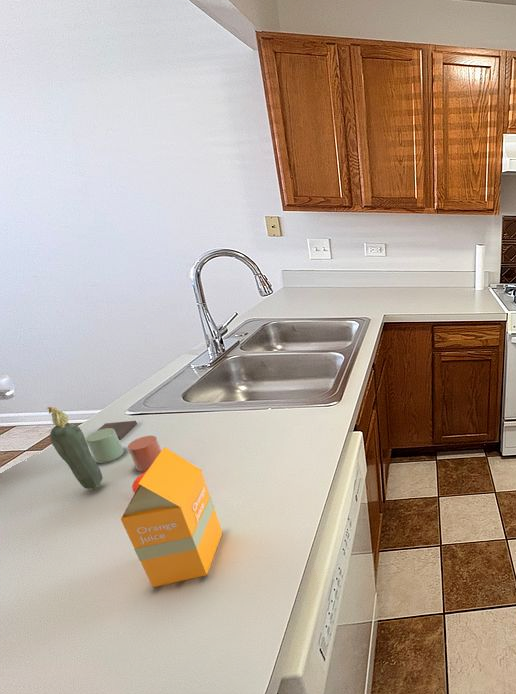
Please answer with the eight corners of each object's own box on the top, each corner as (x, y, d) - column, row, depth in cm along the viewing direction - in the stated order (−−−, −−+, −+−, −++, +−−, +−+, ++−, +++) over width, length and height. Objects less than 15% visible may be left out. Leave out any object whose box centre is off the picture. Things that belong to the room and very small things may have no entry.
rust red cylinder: (131, 473, 86) (122, 450, 84) (144, 458, 91) (136, 436, 88) (157, 470, 87) (148, 448, 85) (169, 455, 92) (161, 434, 89)
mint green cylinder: (89, 464, 89) (79, 442, 87) (104, 450, 93) (95, 429, 91) (115, 461, 90) (105, 439, 87) (128, 448, 94) (119, 426, 92)
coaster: (87, 443, 96) (85, 439, 96) (106, 426, 102) (105, 423, 102) (120, 439, 97) (118, 436, 97) (137, 423, 104) (135, 420, 103)
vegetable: (111, 488, 82) (72, 405, 74) (83, 501, 79) (40, 416, 71) (102, 480, 84) (64, 399, 76) (76, 493, 81) (32, 409, 73)
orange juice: (151, 588, 62) (104, 489, 54) (174, 542, 70) (136, 450, 62) (208, 575, 64) (170, 478, 56) (224, 532, 72) (193, 441, 64)
